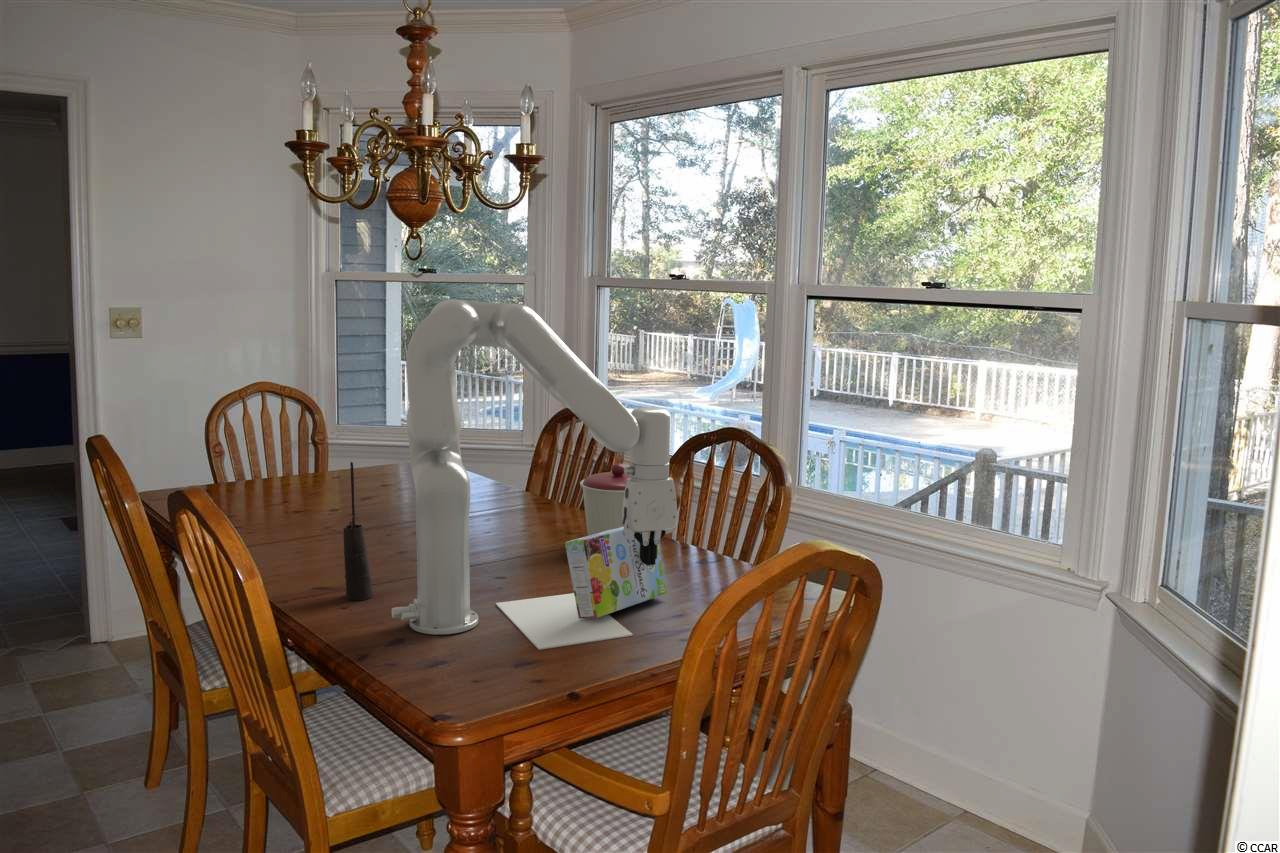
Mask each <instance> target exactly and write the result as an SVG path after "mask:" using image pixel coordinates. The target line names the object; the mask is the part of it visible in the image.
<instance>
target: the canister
mask: <svg viewBox="0 0 1280 853" xmlns="http://www.w3.org/2000/svg"><path fill="white" fill-rule="evenodd" d="M624 468H626V466H625V464H623V463H620V462H619V463H614V464H613V465H611V468H610V471H607V472H606V471H605V472H598V473H595V474H594V473H593V474H590V475H588V476H586V478H584V479H582V480H581V481H580V482H579V485H580V487H581V488H582V493H583V495H582V496H583V503H584V504H583V505H584V515H585V521H586V522H585V523H586V524H585V525H586V530H587V536H590V535H594V534H597V533H601V532H604V531H607V530H612V529H616V528H620V527H624V526H623V522H622V512H623V500H624V493H625V487H626V483H627V479H628V478H630V476H629V474H625V473H624Z"/></svg>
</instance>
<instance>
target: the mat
mask: <svg viewBox="0 0 1280 853" xmlns="http://www.w3.org/2000/svg"><path fill="white" fill-rule="evenodd" d="M495 605H496V607H497V608H499V610H500V611H501V612H502V613H503V614H504V615H505V616H506V617H507V618H508V619H509V620H510V621H511V622H512V623H513V624H514V625H515V626H516V627H517V629H519V631H520V632H521V633H522V634H523V635H524V636H525V637H526V638H527V639H528V640H529V642H531V643H532V645H533V646H535V648H536V649H537V650H539V651H541V650H546V649H547V650H548V649H553V648H561V647H566V646H572V645H573V646H574V645H580V644H586V643H593V642H600V641H605V640H606V641H607V640H612V639H620V638H626V637H627V638H628V637H633V635H634V634H633V633H632V632H631V631H630V630H628V629H627V628H626V627H625V626H624V625H622V624H621V623H619V622H618V621H617V620H616V619H615V618H613V617H612V616H611V615H610V614H607V615H604V616H601V617H598V618H582V619H579V617H578V612H577V606H576V601H575V595H574V592H571V593H564V594H557V595H549V596H540V597H534V598H525V599H517V600H510V601H502V602H500V601H499V602H495Z"/></svg>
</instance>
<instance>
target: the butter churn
mask: <svg viewBox="0 0 1280 853" xmlns="http://www.w3.org/2000/svg"><path fill="white" fill-rule="evenodd" d="M349 463H350V487H351V489H350V490H351V511H352V512H351V516H352V517H351V521H350V522H349V524H347V525H345V526H343V528H342V529H343V555H344V570H345V575H344V578H345V594H346V596H345V598H346V599H347V600H348V601H355V602H357V601H366V600H368V599H371V598H372V597H373V596H374V595H373V584H372V583H373V582H372V578H371V576H372V575H371V570H370V565H369V559H368V558H369V557H368V550H367V546H366V540H365V539H366V538H365V532H364V527H363V524H357V523H356V509H355V480H354V479H355V478H354V476H355V473H354V463H353V462H352V461H351V462H349Z"/></svg>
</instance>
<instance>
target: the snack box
mask: <svg viewBox="0 0 1280 853" xmlns="http://www.w3.org/2000/svg"><path fill="white" fill-rule="evenodd" d="M623 528H624V527H620V528H616V529H612V530H607V531H604V532H601V533H597V534H594V535H590V536H588V535H586V536H583V537H579V538H576V539H571V540H567V541H565V542H564V545H565V551H566V557H567V563H568V566H569V567H568V568H569V573H570V578H571V584H572V589H573V593H574V595H575V601H576V606H577V612H578V617H579V619H582V618H598V617H601V616H604V615H607V614H608V615H610V614H613V613H614V612H617V611H621V610H623V609H626V608H629V607H633V606H635V605H637V604H641V603H643V602H647V601H649V600H651V599H654V598H658V597H661V596H664V595H666V594H667V588H666V582H665V577H664V573H663V566H662V560H661V554H660V551H659V544H658V545H657V559H655V565H649V566H647V565H646V564H644V563H642V562H641V560H640V543H639V542H638V541H637V540H636V539H635V538H632V537H626V536H624V535H623ZM648 537H649V532H648Z"/></svg>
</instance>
